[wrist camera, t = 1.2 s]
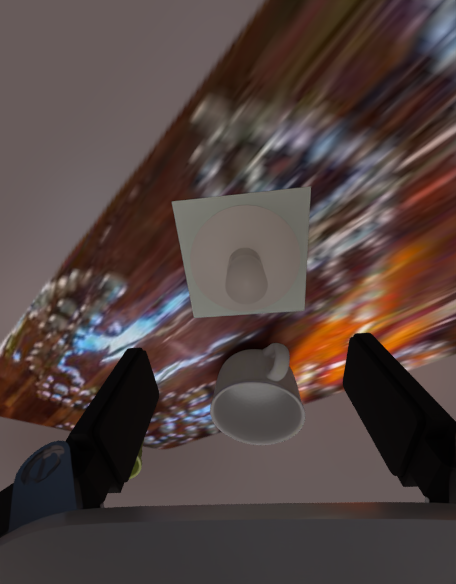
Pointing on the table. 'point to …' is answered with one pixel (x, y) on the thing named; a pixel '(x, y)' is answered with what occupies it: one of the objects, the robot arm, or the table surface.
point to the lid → (245, 258)
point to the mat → (282, 202)
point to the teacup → (258, 397)
